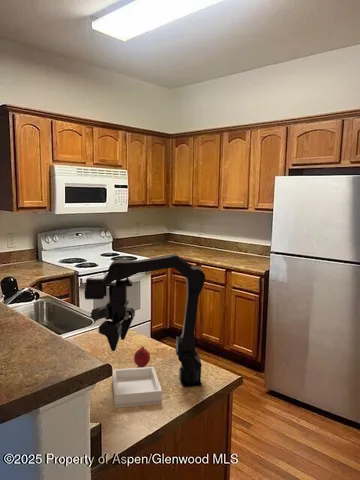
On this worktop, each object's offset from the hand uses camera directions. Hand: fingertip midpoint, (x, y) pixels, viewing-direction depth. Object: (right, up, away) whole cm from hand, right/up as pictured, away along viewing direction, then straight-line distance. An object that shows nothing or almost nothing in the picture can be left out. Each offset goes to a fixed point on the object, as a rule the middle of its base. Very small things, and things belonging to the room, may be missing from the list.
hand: (118, 345), depth 120 cm
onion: (+6, -12, +13) cm, 19 cm away
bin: (+6, -14, -3) cm, 16 cm away
